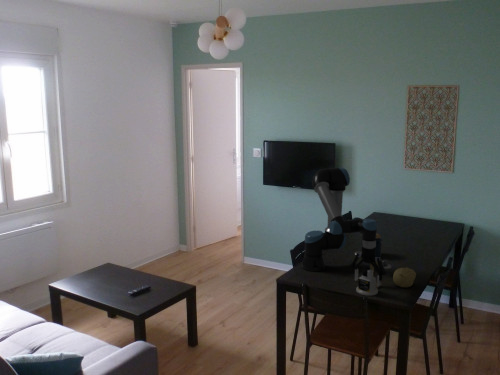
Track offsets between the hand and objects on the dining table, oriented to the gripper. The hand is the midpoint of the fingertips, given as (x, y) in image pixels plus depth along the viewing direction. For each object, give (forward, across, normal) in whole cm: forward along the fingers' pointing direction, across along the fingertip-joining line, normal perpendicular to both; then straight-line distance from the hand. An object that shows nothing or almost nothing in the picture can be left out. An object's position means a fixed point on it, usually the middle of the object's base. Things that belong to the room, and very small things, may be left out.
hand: (367, 282), depth 264 cm
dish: (+5, 0, 0) cm, 5 cm away
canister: (+5, -24, +58) cm, 63 cm away
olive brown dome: (+6, +13, +21) cm, 25 cm away
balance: (+5, -2, +10) cm, 11 cm away
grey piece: (+4, 0, 0) cm, 4 cm away
